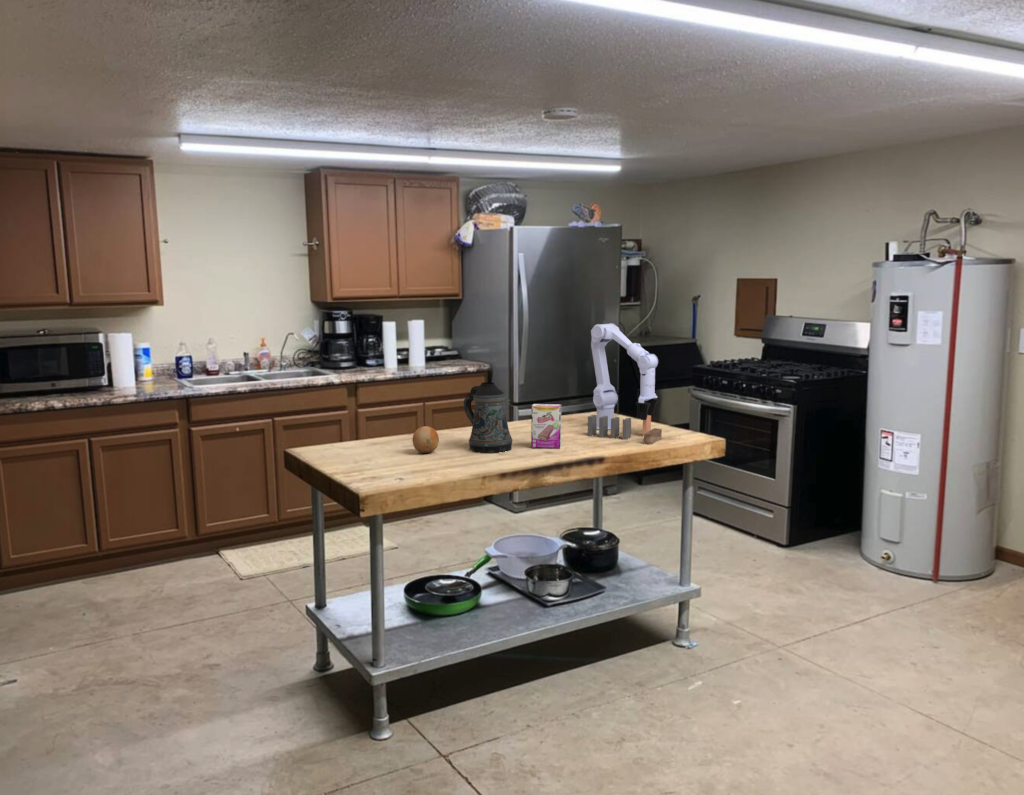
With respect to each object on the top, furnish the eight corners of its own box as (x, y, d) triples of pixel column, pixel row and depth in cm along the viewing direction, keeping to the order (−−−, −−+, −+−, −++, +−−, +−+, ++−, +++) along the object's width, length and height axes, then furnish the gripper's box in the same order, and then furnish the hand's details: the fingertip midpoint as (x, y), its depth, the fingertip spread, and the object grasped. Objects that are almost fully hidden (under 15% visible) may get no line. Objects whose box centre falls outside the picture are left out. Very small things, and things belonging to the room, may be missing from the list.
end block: (643, 443, 309) (643, 433, 308) (654, 438, 319) (654, 428, 319) (650, 444, 308) (651, 434, 307) (661, 438, 318) (661, 428, 317)
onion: (419, 457, 290) (419, 430, 289) (408, 452, 299) (407, 425, 297) (443, 453, 295) (443, 427, 294) (431, 448, 304) (431, 422, 302)
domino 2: (599, 437, 322) (599, 417, 321) (604, 434, 326) (604, 415, 325) (602, 437, 321) (602, 417, 320) (607, 435, 325) (607, 415, 324)
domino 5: (642, 436, 322) (642, 417, 321) (646, 434, 327) (647, 415, 325) (646, 437, 322) (646, 417, 320) (650, 434, 326) (651, 415, 325)
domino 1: (587, 436, 324) (587, 416, 323) (592, 433, 329) (592, 414, 327) (591, 436, 324) (591, 416, 322) (596, 434, 328) (596, 414, 327)
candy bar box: (531, 448, 303) (530, 405, 300) (532, 445, 307) (531, 403, 305) (560, 449, 301) (560, 406, 299) (561, 446, 306) (561, 403, 304)
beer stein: (508, 454, 294) (508, 386, 290) (456, 452, 297) (455, 386, 293) (515, 444, 310) (515, 380, 306) (466, 443, 313) (465, 379, 309)
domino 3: (610, 438, 320) (610, 418, 318) (615, 436, 324) (615, 416, 323) (614, 438, 319) (614, 419, 317) (619, 436, 323) (619, 417, 322)
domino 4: (622, 439, 317) (622, 419, 316) (627, 437, 321) (627, 417, 320) (626, 440, 316) (626, 420, 315) (630, 437, 321) (631, 418, 319)
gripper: (650, 387, 313) (650, 421, 315) (663, 383, 325) (662, 416, 327) (633, 386, 316) (633, 420, 318) (646, 382, 328) (646, 414, 331)
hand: (647, 418), depth 323 cm, fingers open, 7 cm apart
